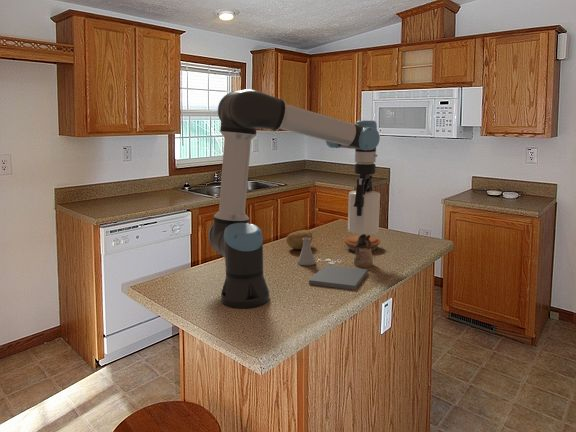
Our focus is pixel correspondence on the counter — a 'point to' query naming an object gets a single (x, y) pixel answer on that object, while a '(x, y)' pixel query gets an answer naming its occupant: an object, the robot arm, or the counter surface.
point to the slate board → (339, 277)
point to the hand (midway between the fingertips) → (363, 221)
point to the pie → (353, 239)
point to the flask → (306, 254)
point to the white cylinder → (370, 213)
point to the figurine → (363, 252)
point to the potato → (298, 238)
